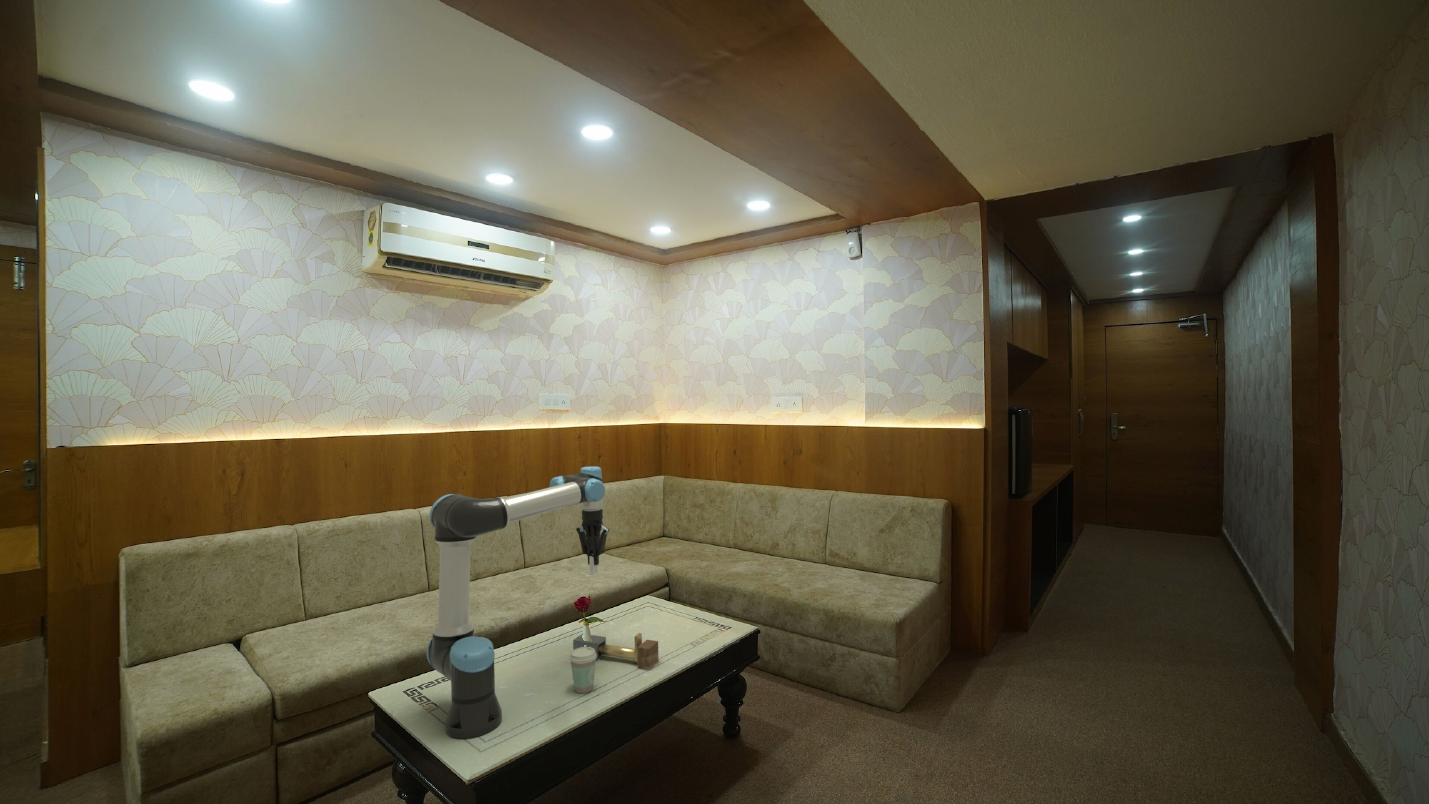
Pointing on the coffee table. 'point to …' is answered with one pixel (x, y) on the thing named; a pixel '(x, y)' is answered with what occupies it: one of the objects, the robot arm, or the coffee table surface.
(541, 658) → the coffee table surface
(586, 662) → the coffee cup
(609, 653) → the tube
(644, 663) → the brown wooden block
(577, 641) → the sleeve
